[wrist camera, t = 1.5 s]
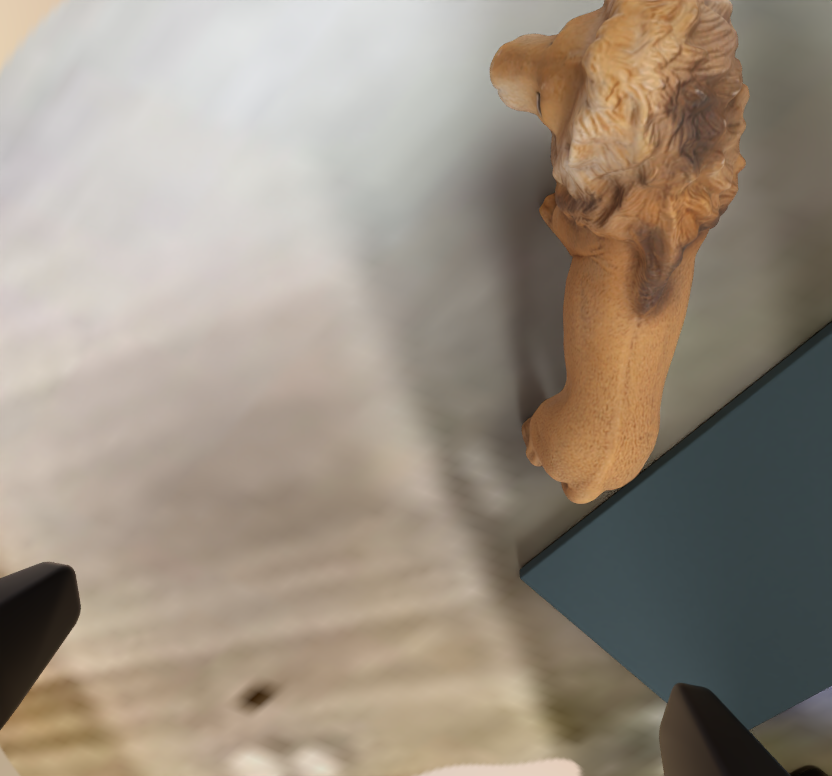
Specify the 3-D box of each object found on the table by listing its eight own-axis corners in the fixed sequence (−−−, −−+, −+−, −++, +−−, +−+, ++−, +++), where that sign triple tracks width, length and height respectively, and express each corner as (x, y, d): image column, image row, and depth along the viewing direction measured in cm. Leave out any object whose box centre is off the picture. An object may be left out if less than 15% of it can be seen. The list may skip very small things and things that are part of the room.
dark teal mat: (1235, 450, 17) (1260, 458, 16) (713, 734, 24) (717, 747, 23) (994, 191, 16) (1012, 190, 15) (518, 569, 23) (519, 578, 22)
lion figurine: (493, 78, 17) (478, -46, 9) (671, 46, 16) (853, -131, 8) (522, 485, 21) (531, 666, 13) (663, 481, 20) (771, 673, 12)
